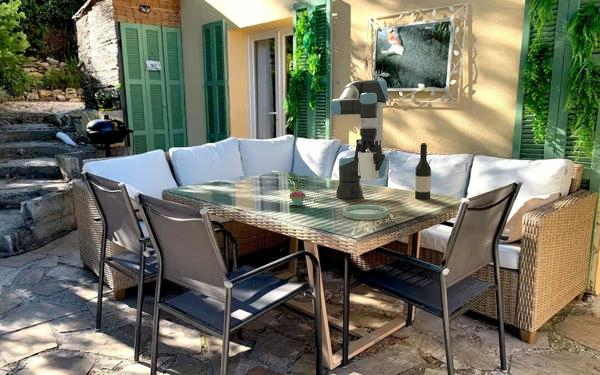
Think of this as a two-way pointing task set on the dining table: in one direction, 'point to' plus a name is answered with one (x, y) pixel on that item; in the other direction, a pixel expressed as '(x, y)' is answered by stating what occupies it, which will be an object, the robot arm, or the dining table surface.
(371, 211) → the saucer
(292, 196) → the cupcake
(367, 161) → the foam cup
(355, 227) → the dining table surface
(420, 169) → the wine bottle
